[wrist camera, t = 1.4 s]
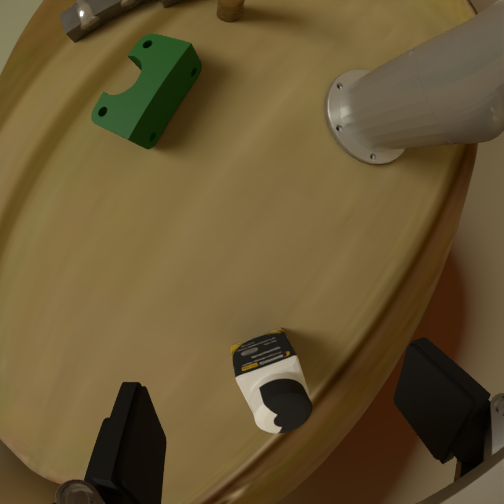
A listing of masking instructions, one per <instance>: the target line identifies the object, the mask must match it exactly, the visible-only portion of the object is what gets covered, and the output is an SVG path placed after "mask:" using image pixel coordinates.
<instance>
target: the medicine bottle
mask: <svg viewBox="0 0 504 504" xmlns="http://www.w3.org/2000/svg"><path fill="white" fill-rule="evenodd" d="M231 355H232V361H233V367H234V373H235V379H236V381H237V383H238V385H239V387H240V389H241V391H242V393H243V395H244V397H245V399H246V401H247V403H248V405H249V406H250V408H251V410H252V412H253V414H254V419H255V422H256V424H257V426H258V427H259V428H260V429H262V430H264V431H267V432H270V433H285V432H289V431H292V430H294V429H296V428H298V427H300V426H301V425H302V424H304V423H305V422H306V421H307V419H308V418H309V416H310V414H311V412H312V403H311V401H310V399H309V397H310V394H309V391H308V387H307V384H306V381H305V378H304V375H303V372H302V368H301V365H300V362H299V359H298V356H297V354H296V353H295V351H294V349H293V347H292V345H291V343H290V341H289V339H288V337H287V335H286V334H285V332H284V330H283V329H282V328H279V329H276V330H274V331H271V332H268V333H266V334H263V335H260V336H258V337H255V338H252V339H249V340H246V341H244V342H241V343H238V344H235V345H232V346H231Z"/></svg>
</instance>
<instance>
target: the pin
mask: <svg viewBox="0 0 504 504" xmlns="http://www.w3.org/2000/svg"><path fill="white" fill-rule="evenodd" d="M244 1H245V0H218V5H217V17H218V18H219V19H220V20H222V21H225V22H234V21H236V20H238V19H239V18H240V17H241V13H242V9H243V5H244Z"/></svg>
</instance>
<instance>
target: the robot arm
mask: <svg viewBox="0 0 504 504" xmlns="http://www.w3.org/2000/svg"><path fill="white" fill-rule="evenodd" d="M337 87H338V88H337ZM325 113H326V118H327V122H328V126H329V128H330V130H331V133H332V135H333V136H334V138H335V139H336V141H337V142H338V144H339V145H340V146H341V147H342V148H343V149H344V150H345V151H346V152H347V153H348V154H350V155H351V156H352V157H354V158H356V159H358V160H359V161H362V162H365V163H369V164H384V163H388V162H391V161H393V160H395V159H397V158H398V157H399V156H400V155H401V154H402V153H403V152H404V150H405V149H407V148H416V147H427V146H438V145H452V144H468V143H480V142H486V141H490V140H492V139H494V138H496V137H498V136H499V135H500V134H501V133H502V132H503V131H504V0H499V1H497V2H495V3H494V4H493V5H491V6H490V7H488V8H487V9H485V10H484V11H482V12H481V13H479V14H477V15H476V16H474V17H472V18H471V19H469V20H467V21H466V22H464V23H462V24H460V25H458V26H456V27H454V28H452V29H450V30H448V31H447V32H445V33H443V34H441V35H439V36H436V37H434V38H432V39H430V40H428V41H426V42H424V43H422V44H421V45H419V46H417V47H415V48H413V49H411V50H409V51H407V52H405V53H403V54H401V55H400V56H398V57H396V58H394V59H392V60H390V61H389V62H387V63H385V64H383V65H382V66H380V67H378V68H376V69H375V70H373V71H369V70H364V69H356V70H350V71H348V72H346V73H343V74H342V75H341V76H339V77H338V78H337V79H336V80H335V81H334V82H333V83H332V84H331V86H330V88H329V89H328V92H327V95H326V101H325ZM336 128H338V131H337V129H336ZM370 156H371V158H370ZM489 397H490V393H489V392H487V391H486V390H485V389H484V388H483V387H482V386H481V385H480V384H479V383H477V382H476V381H475V380H474V379H473V378H472V377H471V376H470V375H469V374H467V373H466V372H465V371H464V370H463V369H462V368H461V367H459V366H458V365H457V364H456V363H455V362H454V361H453V360H451V359H450V358H449V357H448V356H447V355H445V353H443V352H442V351H441V350H440V349H439V348H438V347H436V346H435V345H434V344H433V343H431V342H430V341H429V340H428V339H427V338H421V339H417V340H414V341H412V342H411V343H410V345H409V346H408V347H407V350H406V354H405V358H404V362H403V366H402V370H401V374H400V377H399V381H398V385H397V388H396V391H395V395H394V403H395V405H396V407H397V408H398V409H399V411H401V413H402V415H403V416H404V417H405V418H406V420H407V421H408V422H409V424H410V425H411V426H412V428H413V429H414V431H415V432H416V433H417V435H418V436H419V437H420V439H421V440H422V442H423V443H424V444H425V445H426V447H427V448H428V450H429V451H430V453H431V454H432V455H433V457H434V458H435V459H437V460H440V462H441V463H442V464H444V463H446V462H447V461H449V460H450V459H452V458H453V457H454V456H455V457H456V458H457V464H456V471H455V477H454V482H453V483H451V484H450V485H448V486H447V487H445V488H443V489H442V490H440V491H438V492H437V493H435V494H433V495H431V496H429V497H428V498H426V499H424V500H422V501H420V502H418V503H416V504H504V393H501V394H497V395H495V396H494V397H493V398H492V400H491V402H490V401H489V400H488V399H489ZM165 453H166V436H165V434H164V431H163V429H162V427H161V424H160V422H159V419H158V417H157V414H156V412H155V409H154V406H153V404H152V401H151V398H150V396H149V393H148V390H147V388H146V387H145V386H141V384H140V383H139V382H123V383H122V385H121V387H120V390H119V393H118V396H117V398H116V401H115V404H114V407H113V410H112V413H111V416H110V418H105V419H104V421H103V423H102V425H101V428H100V431H99V434H98V437H97V440H96V443H95V446H94V449H93V452H92V455H91V459H90V462H89V465H88V468H87V472H86V475H85V478H84V481H83V480H79V479H73V480H69V481H66V482H65V483H63V484H61V486H60V487H59V488H58V489H57V492H56V496H55V500H56V502H55V503H53V504H161V498H162V485H163V473H164V463H165Z"/></svg>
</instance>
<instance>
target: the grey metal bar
mask: <svg viewBox="0 0 504 504" xmlns="http://www.w3.org/2000/svg"><path fill="white" fill-rule="evenodd" d="M149 1H151V0H77V1H76V2H75V3H74V5H73V6H72V7H70V8H69V9H67V10H66V11H64V12H63V13H61V14H60V18H61V21H62V24H63V27H64V30H65V33H66V34H67V35H68V36H69V37H70V38H71V39H72V40H73V41H74V43H75V42H76V41H78V40H79V39H81V38H82V37H84V36H86V35H87V34H89V33H90V32H92V31H94V30H95V29H97V28H99V27H100V26H102V25H104V24H106V23H107V22H109V21H111V20H113V19H115V18H116V17H118V16H120V15H122V14H124V13H126V12H128V11H130V10H132V9H134V8H136V7H138V6H140V5H142V4H145V3H147V2H149ZM180 1H183V0H160V2H161V3H162V5H163V6H164V8H165V7H168V6H170V5H173V4H175V3H178V2H180Z"/></svg>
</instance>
